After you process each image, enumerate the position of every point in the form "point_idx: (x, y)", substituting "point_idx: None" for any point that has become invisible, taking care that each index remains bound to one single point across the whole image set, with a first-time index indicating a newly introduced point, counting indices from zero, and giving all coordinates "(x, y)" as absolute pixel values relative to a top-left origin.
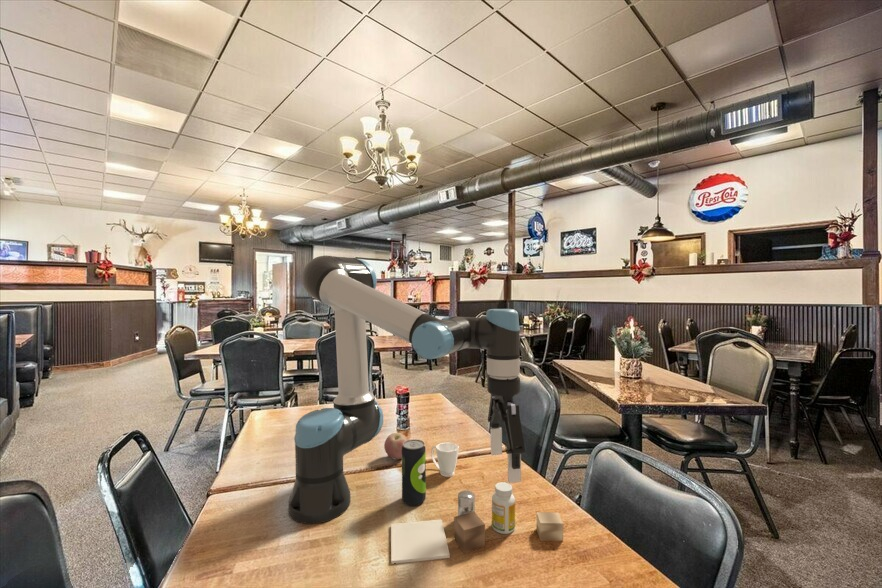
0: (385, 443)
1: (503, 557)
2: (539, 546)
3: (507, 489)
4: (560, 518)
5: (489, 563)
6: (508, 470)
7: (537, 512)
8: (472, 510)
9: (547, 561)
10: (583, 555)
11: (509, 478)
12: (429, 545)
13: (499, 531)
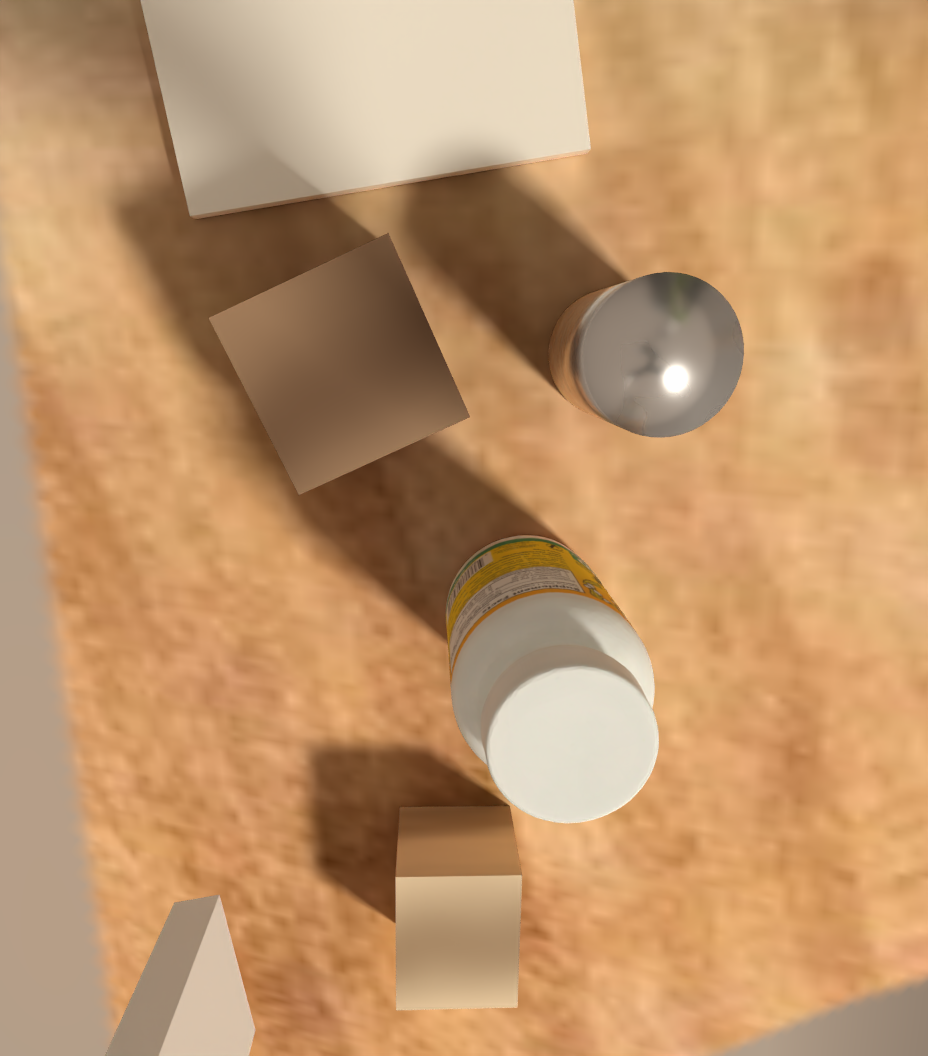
0: None
1: (233, 572)
2: (345, 791)
3: (515, 775)
4: (449, 1006)
5: (172, 482)
6: (134, 1027)
7: (517, 880)
8: (582, 404)
9: (222, 809)
10: (285, 994)
11: (158, 950)
12: (277, 53)
13: (454, 578)
